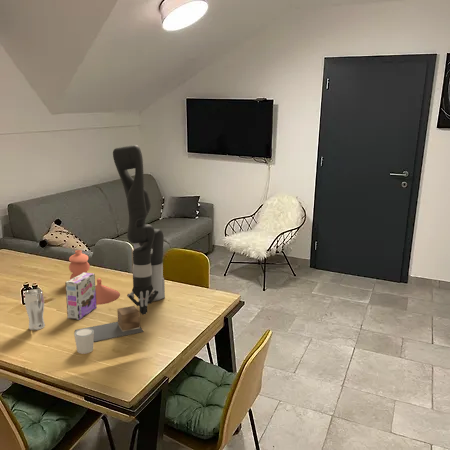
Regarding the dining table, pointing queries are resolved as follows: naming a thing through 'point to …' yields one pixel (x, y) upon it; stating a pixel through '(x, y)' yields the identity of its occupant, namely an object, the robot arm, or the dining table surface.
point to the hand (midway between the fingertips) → (143, 313)
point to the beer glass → (35, 308)
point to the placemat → (110, 331)
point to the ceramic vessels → (102, 292)
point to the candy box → (80, 295)
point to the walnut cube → (128, 318)
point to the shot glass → (84, 340)
